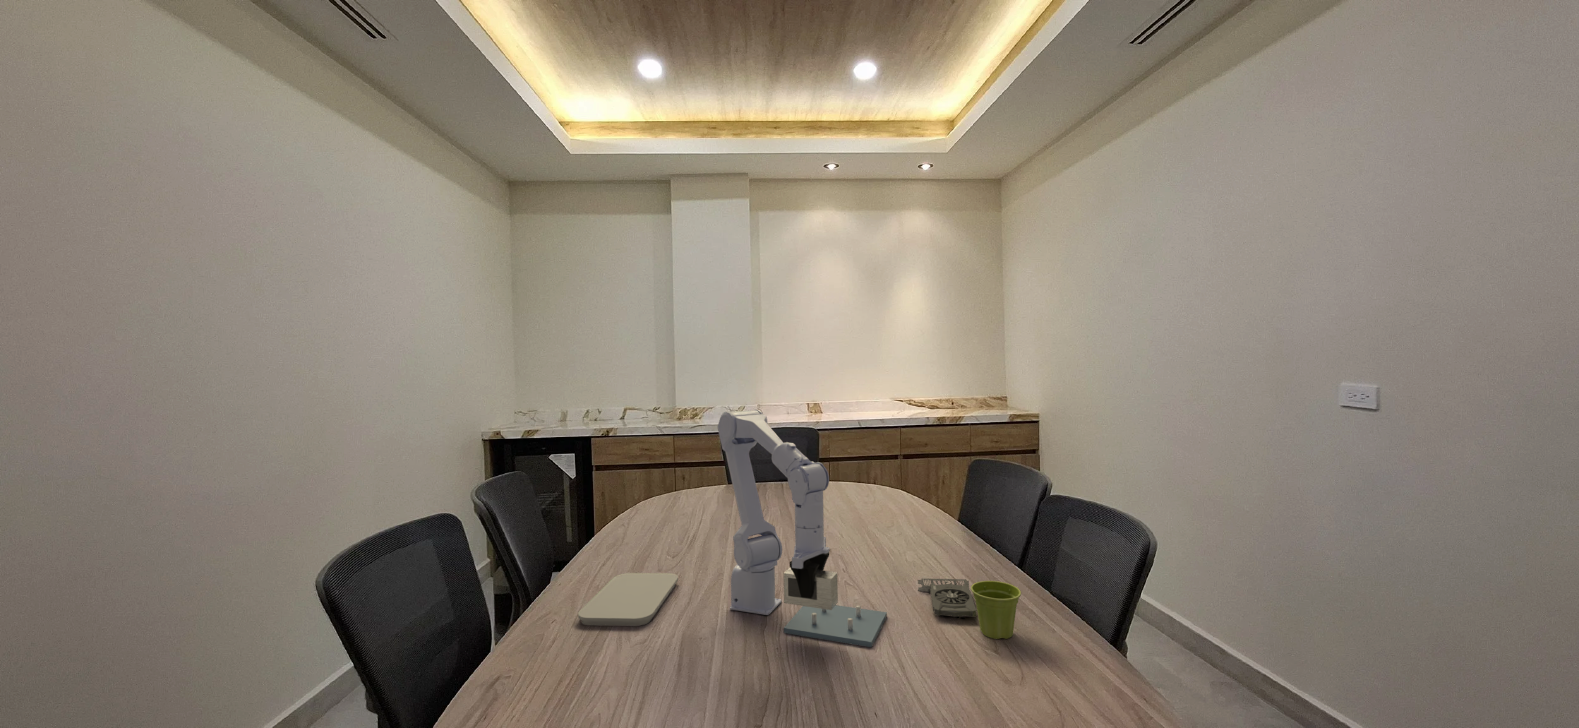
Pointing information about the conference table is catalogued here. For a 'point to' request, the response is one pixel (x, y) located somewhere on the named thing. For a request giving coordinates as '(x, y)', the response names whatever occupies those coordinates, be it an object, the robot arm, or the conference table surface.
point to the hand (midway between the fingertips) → (810, 592)
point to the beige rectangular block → (822, 591)
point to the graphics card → (950, 597)
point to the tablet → (628, 599)
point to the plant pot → (996, 607)
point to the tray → (838, 624)
